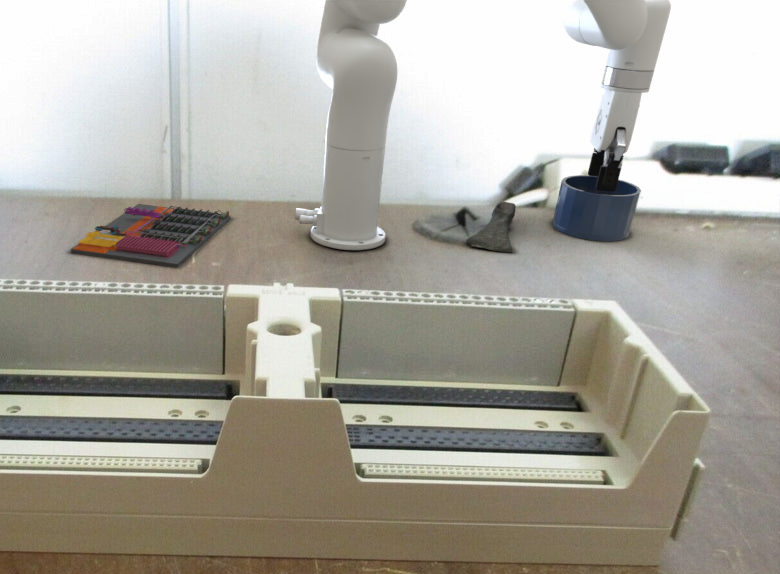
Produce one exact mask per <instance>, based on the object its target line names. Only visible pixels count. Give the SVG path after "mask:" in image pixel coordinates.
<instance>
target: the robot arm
mask: <svg viewBox="0 0 780 574" xmlns="http://www.w3.org/2000/svg"><path fill="white" fill-rule="evenodd" d="M407 1H408V0H325V2H324V6H323V11H322V18H321V22H320V28H319V33H318V39H317V45H316V52H315V55H316V56H315V64H316V69H317V72H318V74H319V76H320V79H321V80H322V81H323V82H324V83H325V84H326V85H327V86H328V87H329V88H331V91H332V92H331V98H330V102H329V108H328V113H327V119H326V129H325V140H324V141H325V143H324V144H325V147H324V161H323V162H324V164H323V176H322V177H323V178H322V191H321V192H322V194H321V205H320V207H319V208H314V210H311V209H306V208H297V207H296V208H295V213H294V219H295V221H299V224H302V225H313V226H312V227H310V238H311V239H312V240H313V242H315V243H316V244H318V245H321V246H323V247H327V248H331V249H334V250H335V249H336V250H343V251H364V250H365V251H366V250H367V251H368V250H372V249H376V248H378V247H380V246H383V244H384V243H385V242H386V236H387V235H386V232H385V231H384V230H383V229H382V228H381V227H379V226H378V222H379V212H380V202H381V192H382V184H383V174H384V163H385V154H386V143H387V135H388V134H387V133H388V127H389V118H390V113H391V108H392V103H393V100H394V95H395V91H396V87H397V82H398V64H397V59H396V56H395V53H394V52H393V49H392V48H391V46H390V45H389V44H388V43H387V42H386V41H385V40H384V39H382V38H381V37H379V36H378V33H379V29H380V25H384V24H387V23H391V22H392V21H394V20H395V19H397V18H398V17H399V16H400V15H401V13H402V12H403V10H404V9H405V6H406V5H407V4H406V3H407ZM671 4H672V3H671V2H670V0H572V1H571V2H570V3H569V4H568V6H567V8H566V9H565V12H564V15H563V27H564V30H565V32H566V33H567V35H568V36H569V37H570V38H571V39H572V40H574V41H576V42H577V43H581V44H583V45H587V46H591V47H592V46H593V47H600V48H604V49H608V50H609V51H608V55H607V59H606V63H605V68H604V72H603V77H602V81H601V84H600V87H601V88H602V89H604V91H603V93H602V96H601V99H600V103H599V105H598V109H597V113H596V117H595V119H594V124H593V127H592V131H591V135H590V140H589V141H590V143H591V145H592V146H593V152H592V154H591V158H590V162H589V166H588V170H587V175H589V176H597V177H598V180H597V184H596V189H597V190H601V191H611V192H614V191H615V190H616V187H617V183H618V180H620V175H621V171H622V166H623V162H624V161H623V160H624V154H626V153H627V152H628V150H629V147H630V144H631V141H632V138H633V134H634V129H635V125H636V122H637V117H638V114H639V113H638V112H639V109H640V103H641V100H642V95H643V94H645V93H649V92H650V88H651V84H652V81H653V77H654V73H655V70H656V65H657V62H658V59H659V55H660V50H661V47H662V43H663V39H664V36H665V32H666V29H667V26H668V25H667V24H668V22H669V17H670V14H671V9H672V8H671V7H672V5H671Z"/></svg>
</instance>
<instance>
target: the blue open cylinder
mask: <svg viewBox="0 0 780 574" xmlns="http://www.w3.org/2000/svg"><path fill="white" fill-rule="evenodd" d="M597 180H598V177H597V176H589V175H588V174H586V175H585V174H576V175H569V176H565V177H563V178H562V179H561V182H560V187H559V190H558V196H557V200H556V205H555V208H554V214H553V218H552V219H553V220H552V226H553V228H554V229H555V230H557V231H558V232H560V233H563V234H565V235H568V236H570V237H573V238H578V239H580V240H581V239H582V240H588V241H595V242H618V241H622V240H625V239H627V238H628V237H629V236H630V232H631V229H632V225H633V223H634V219H635V215H636V211H637V207H638V204H639V201H640V197H641V193H642V189H640V187H639V186H638V185H636V184H634V183H631V182H629V181H626V180H623V179H618V183H617V187H616V190H615V191H614V192H611V191H601V190H597V189H596V184H597Z"/></svg>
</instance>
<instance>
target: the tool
mask: <svg viewBox="0 0 780 574" xmlns="http://www.w3.org/2000/svg"><path fill="white" fill-rule="evenodd" d="M516 207H517V206H516V204H515V203H513V202H508V201H500V202H498V203H497V204H496V205H495V206H494V208H493V210H492V212H491V217H490V220H489V222H488V223H487V224H486V225H485V226H484V227H482V229H480V230H479V231H478V232H477V233H475V234H473V235H471V236H468V238H466V244H468V245H469V247H472V248H476V249H484V250H488V251H489V250H490V251H494V252H500V253H501V252H502V253H513V247H512V244H511V240H510V238H509V227H510V225H511V224H512V221H513V220H514V218H515V215H516Z"/></svg>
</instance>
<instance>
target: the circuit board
mask: <svg viewBox="0 0 780 574" xmlns="http://www.w3.org/2000/svg"><path fill="white" fill-rule="evenodd" d="M123 211H124V213H122V214H121V215H119V216H118V217H116V218H115V219H113V220H112V221H111V222H109V223H108V224H106V225H99V226H96V227H94V231H93V232H91V231H89V232H87V233H86V234H85V237H84V238H82V239H81V240H79V241H77V243H78V244H76V245H75V246H73V247H72V248H70V253H71V254H77V255H84V256H93V257H99V258H105V259H114V260H120V261H126V262H127V261H128V262H134V263H135V262H136V263H142V264H148V265H157V266H162V267H163V266H164V267H170V268H179V267H180V266H181V265H183V263H185V262H186V261H187V259H189V258H190V257H191V256H192V255H193V254H194V253H195V252H196V251H197V250H198V249H200V248H201V246H202V245H204V244H205V243H206V242H207V241H208V240H209V239H210V238H211V237H213V236H214V234H215V233H217V231H218V230H220V229H221V228H222V227H223V226H224V225H225V224H226V223H228V221H229V220H231V215H230V211H229V210H227V211H225V212H222V211H221V210H219V209H218V210H215V211H212V212H211V211H210V210H209V209H207V210H206V211H204V210H203V209H199V210H197V209H196V208H193V209H189V208H188V207H186V208H182V207H181V206H174V205H170V206H161V205H152V204H151V205H150V204H145V203H137V204H136V205H135V206H133V207H131V206H128V207H126V208H124V209H123ZM219 212H220V213H219Z"/></svg>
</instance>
